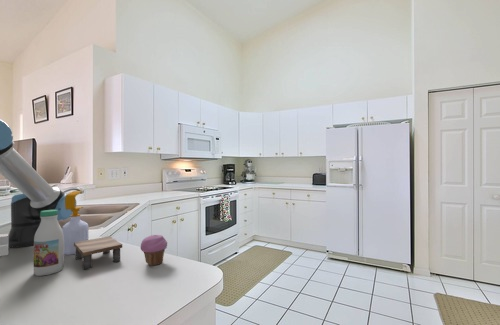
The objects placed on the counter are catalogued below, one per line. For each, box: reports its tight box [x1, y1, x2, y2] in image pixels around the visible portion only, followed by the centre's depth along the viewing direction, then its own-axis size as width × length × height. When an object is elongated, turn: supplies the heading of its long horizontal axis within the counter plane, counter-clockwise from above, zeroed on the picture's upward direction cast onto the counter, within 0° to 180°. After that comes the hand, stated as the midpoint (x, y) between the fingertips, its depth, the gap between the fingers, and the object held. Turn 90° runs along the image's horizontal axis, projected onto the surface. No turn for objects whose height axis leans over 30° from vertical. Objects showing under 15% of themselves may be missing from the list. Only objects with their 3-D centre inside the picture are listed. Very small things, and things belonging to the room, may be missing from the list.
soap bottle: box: [61, 190, 89, 256], centre depth 101 cm, size 9×9×25 cm
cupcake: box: [140, 234, 168, 267], centre depth 86 cm, size 9×9×10 cm
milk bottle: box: [33, 210, 65, 277], centre depth 81 cm, size 8×8×20 cm
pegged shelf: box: [74, 235, 123, 271], centre depth 91 cm, size 16×12×6 cm
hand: (8, 244), depth 74 cm, fingers open, 13 cm apart
